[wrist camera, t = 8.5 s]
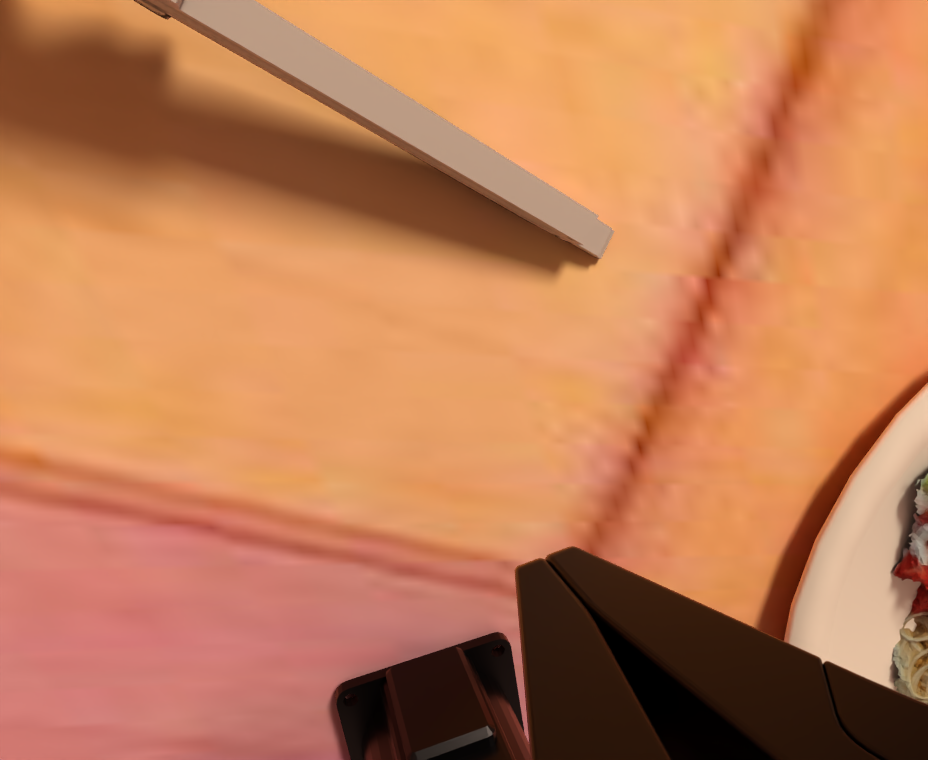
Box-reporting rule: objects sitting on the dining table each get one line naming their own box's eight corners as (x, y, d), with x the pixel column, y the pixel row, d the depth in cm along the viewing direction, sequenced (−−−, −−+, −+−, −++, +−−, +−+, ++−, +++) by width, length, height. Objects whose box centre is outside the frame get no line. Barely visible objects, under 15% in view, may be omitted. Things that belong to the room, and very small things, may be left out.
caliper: (-136, -128, 15) (-402, -340, 9) (-121, -177, 15) (-381, -424, 9) (594, 258, 22) (713, 281, 16) (609, 228, 22) (733, 241, 16)
